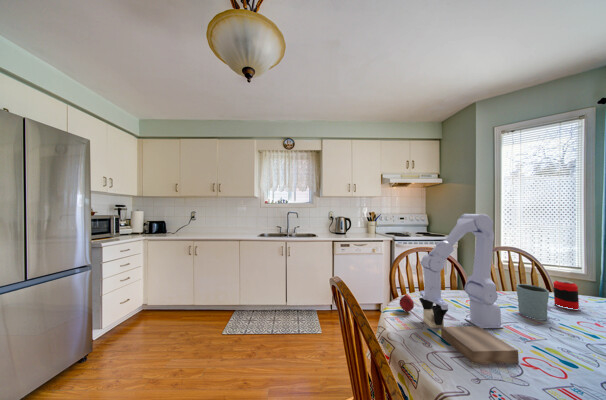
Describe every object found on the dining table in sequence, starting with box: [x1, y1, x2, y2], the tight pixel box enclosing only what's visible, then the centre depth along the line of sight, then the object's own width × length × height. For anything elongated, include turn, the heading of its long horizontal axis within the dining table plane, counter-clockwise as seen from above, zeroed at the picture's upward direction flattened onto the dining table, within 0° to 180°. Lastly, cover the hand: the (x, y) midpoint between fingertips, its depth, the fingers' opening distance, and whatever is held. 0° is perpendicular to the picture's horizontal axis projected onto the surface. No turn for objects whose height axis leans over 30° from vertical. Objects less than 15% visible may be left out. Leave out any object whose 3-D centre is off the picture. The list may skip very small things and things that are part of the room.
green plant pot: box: [515, 283, 550, 320], centre depth 97 cm, size 10×10×12 cm
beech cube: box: [422, 308, 445, 329], centre depth 88 cm, size 5×5×5 cm
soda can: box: [552, 279, 580, 309], centre depth 106 cm, size 8×8×12 cm
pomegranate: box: [399, 293, 415, 313], centre depth 99 cm, size 6×6×8 cm
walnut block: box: [440, 325, 520, 365], centre depth 73 cm, size 14×14×4 cm
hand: (433, 320), depth 88 cm, fingers open, 6 cm apart
